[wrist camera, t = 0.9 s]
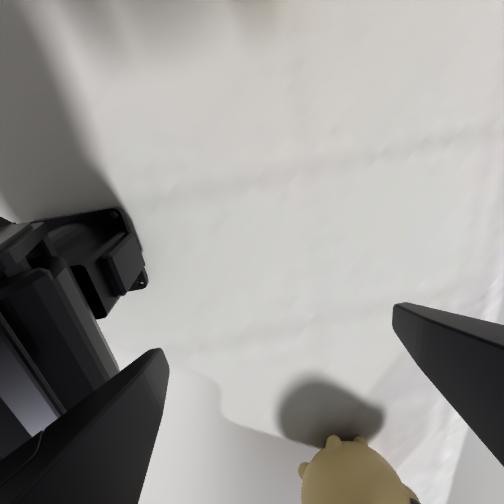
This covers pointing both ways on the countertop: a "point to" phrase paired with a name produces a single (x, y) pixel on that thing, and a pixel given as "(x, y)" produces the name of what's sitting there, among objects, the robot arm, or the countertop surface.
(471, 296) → the countertop surface
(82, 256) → the robot arm
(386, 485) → the beige round figure
